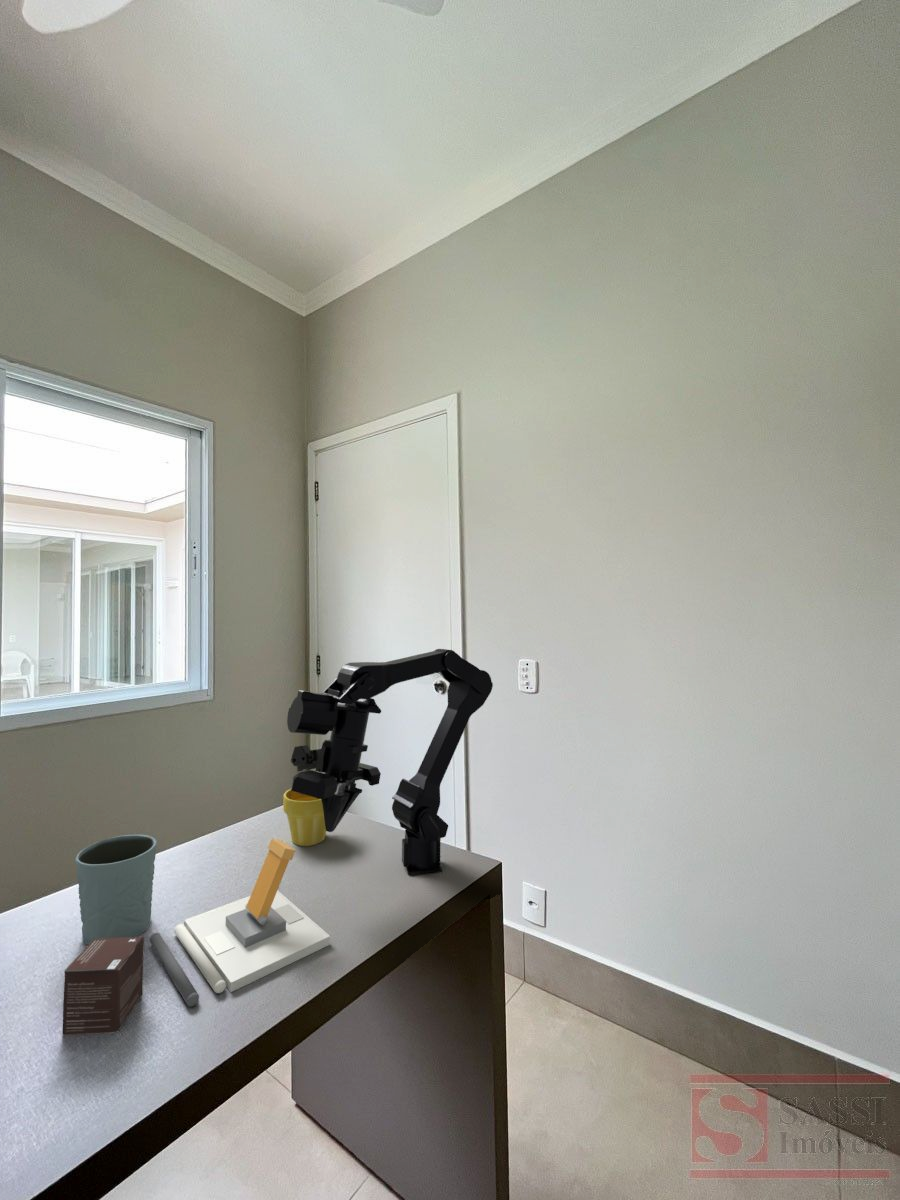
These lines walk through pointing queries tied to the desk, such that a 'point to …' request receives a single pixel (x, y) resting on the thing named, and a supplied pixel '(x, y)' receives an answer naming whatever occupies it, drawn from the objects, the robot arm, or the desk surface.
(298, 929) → the breaker panel
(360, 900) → the desk surface
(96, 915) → the grey-green cup
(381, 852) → the desk surface
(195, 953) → the rods
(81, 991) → the box
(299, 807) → the plant pot
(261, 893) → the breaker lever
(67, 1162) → the desk surface
